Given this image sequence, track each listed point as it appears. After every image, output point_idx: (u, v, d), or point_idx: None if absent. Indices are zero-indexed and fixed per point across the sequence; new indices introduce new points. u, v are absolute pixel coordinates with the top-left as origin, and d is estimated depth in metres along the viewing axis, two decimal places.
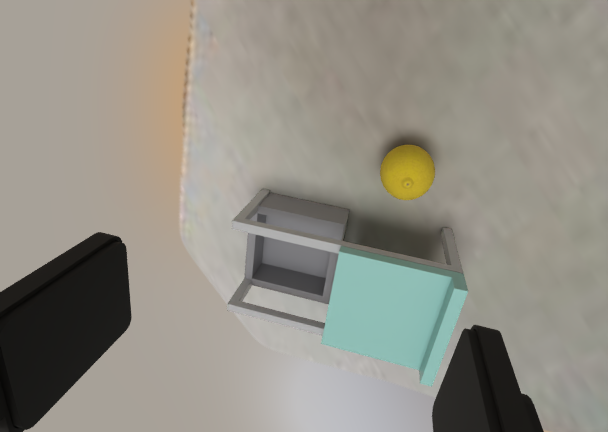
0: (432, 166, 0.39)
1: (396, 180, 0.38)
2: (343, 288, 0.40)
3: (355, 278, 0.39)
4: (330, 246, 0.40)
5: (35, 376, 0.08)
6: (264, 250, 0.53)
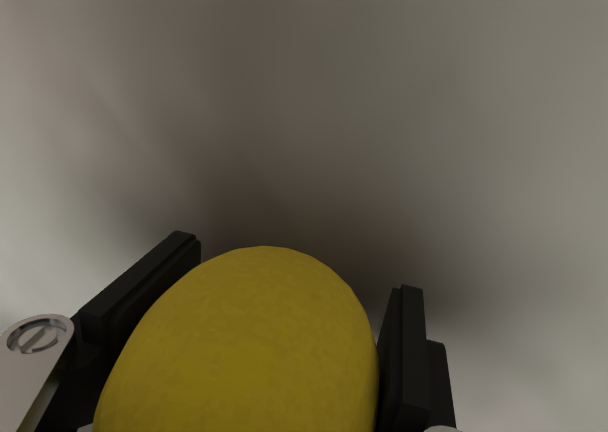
0: (354, 410, 0.07)
1: None
2: None
3: None
4: None
5: None
6: None
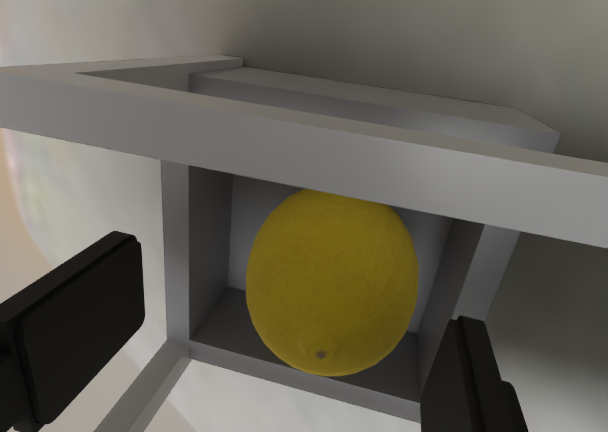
0: (411, 263, 0.11)
1: (281, 330, 0.10)
2: None
3: None
4: None
5: (56, 372, 0.09)
6: (233, 252, 0.19)
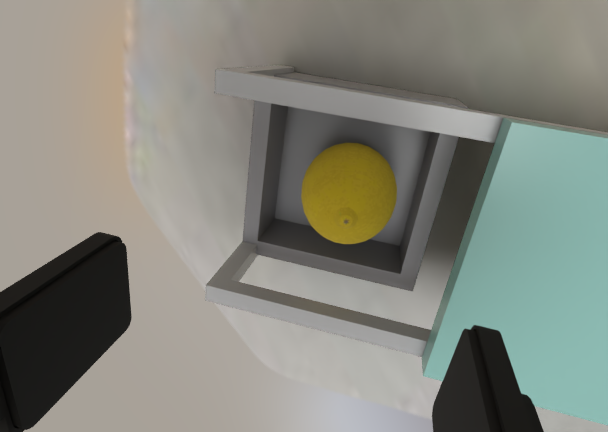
0: (392, 183, 0.21)
1: (325, 212, 0.20)
2: (505, 233, 0.15)
3: (546, 202, 0.14)
4: (470, 122, 0.15)
5: (35, 376, 0.08)
6: (280, 193, 0.28)
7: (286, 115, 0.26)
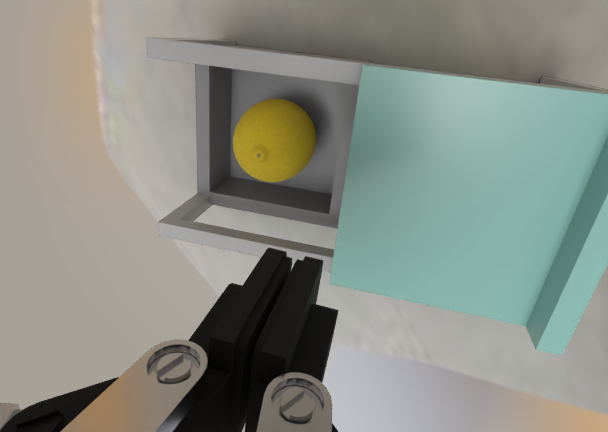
0: (304, 129, 0.25)
1: (244, 150, 0.24)
2: (371, 156, 0.19)
3: (397, 128, 0.19)
4: (341, 69, 0.19)
5: (248, 387, 0.09)
6: (232, 153, 0.33)
7: (231, 83, 0.30)
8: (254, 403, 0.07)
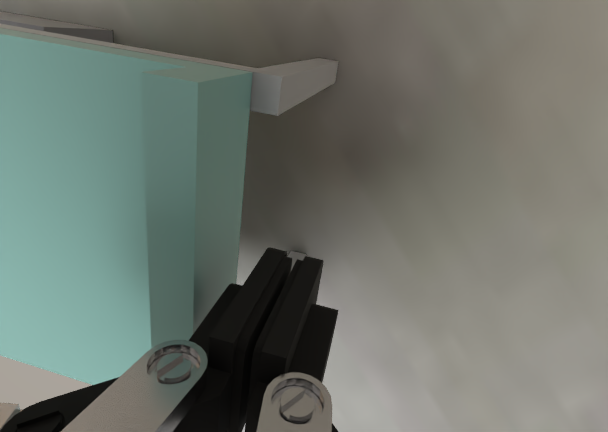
0: None
1: None
2: None
3: None
4: None
5: (248, 388, 0.09)
6: None
7: None
8: (254, 403, 0.07)
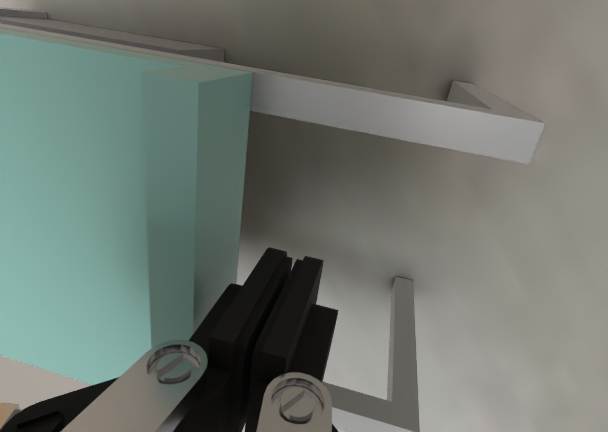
0: None
1: None
2: None
3: None
4: None
5: (248, 388, 0.09)
6: None
7: None
8: (254, 403, 0.07)
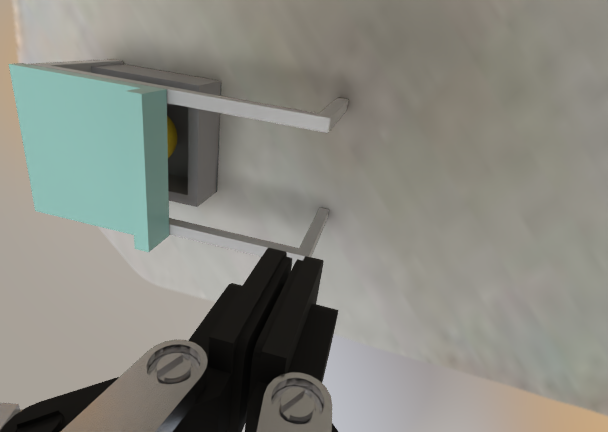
0: None
1: None
2: (31, 122, 0.30)
3: (39, 104, 0.30)
4: None
5: (248, 388, 0.09)
6: None
7: None
8: (254, 403, 0.07)
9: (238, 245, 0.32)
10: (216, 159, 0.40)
